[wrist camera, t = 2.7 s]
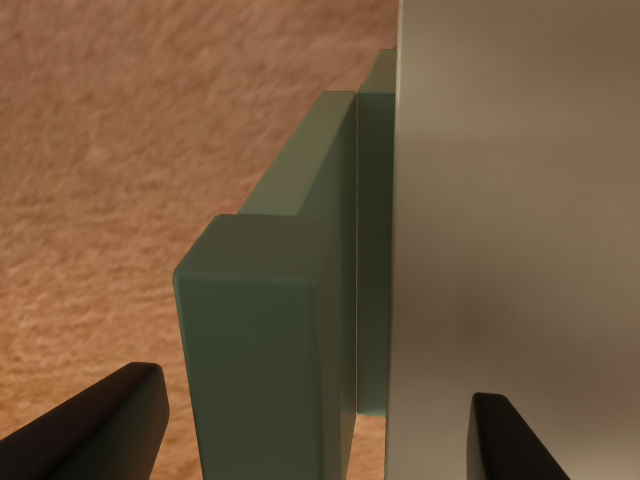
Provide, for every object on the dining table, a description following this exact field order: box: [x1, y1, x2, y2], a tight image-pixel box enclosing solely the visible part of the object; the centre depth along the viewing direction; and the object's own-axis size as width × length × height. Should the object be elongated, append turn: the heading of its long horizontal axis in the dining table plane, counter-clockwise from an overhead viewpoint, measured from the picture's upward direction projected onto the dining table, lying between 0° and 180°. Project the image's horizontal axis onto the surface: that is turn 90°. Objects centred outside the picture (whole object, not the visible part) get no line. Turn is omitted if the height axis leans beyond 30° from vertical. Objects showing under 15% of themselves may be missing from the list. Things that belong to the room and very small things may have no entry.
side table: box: [384, 0, 640, 480], centre depth 12 cm, size 12×8×7 cm, turn 2°
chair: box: [173, 49, 397, 480], centre depth 10 cm, size 7×7×11 cm
